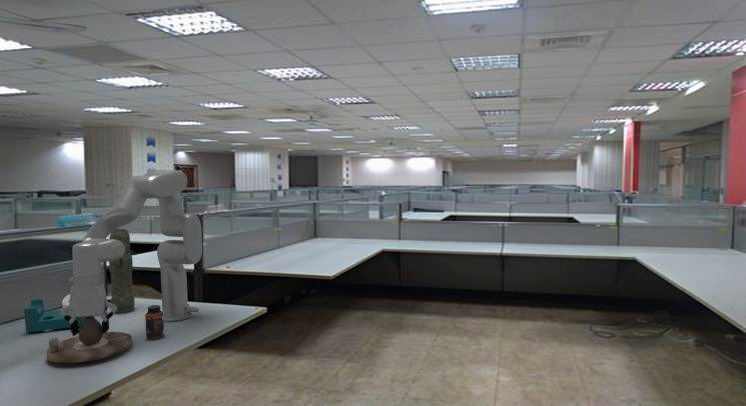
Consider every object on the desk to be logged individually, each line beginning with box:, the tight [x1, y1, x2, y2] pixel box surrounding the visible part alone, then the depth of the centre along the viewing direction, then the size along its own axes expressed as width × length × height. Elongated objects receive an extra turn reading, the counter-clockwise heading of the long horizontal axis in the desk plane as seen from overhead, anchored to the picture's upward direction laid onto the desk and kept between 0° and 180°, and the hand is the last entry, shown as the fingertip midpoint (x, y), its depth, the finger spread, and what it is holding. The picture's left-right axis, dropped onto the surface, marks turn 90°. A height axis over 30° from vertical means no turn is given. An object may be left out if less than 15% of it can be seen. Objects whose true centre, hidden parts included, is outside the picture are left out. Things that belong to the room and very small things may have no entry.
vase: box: [77, 316, 103, 345], centre depth 155 cm, size 7×7×9 cm
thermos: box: [108, 228, 135, 315], centre depth 202 cm, size 9×12×35 cm
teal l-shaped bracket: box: [23, 298, 86, 334], centre depth 182 cm, size 18×11×10 cm, turn 113°
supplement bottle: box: [144, 304, 165, 341], centre depth 169 cm, size 6×6×11 cm
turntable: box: [45, 331, 133, 364], centre depth 155 cm, size 24×24×6 cm
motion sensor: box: [61, 293, 70, 309], centre depth 204 cm, size 8×8×8 cm
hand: (90, 333), depth 155 cm, fingers open, 8 cm apart
